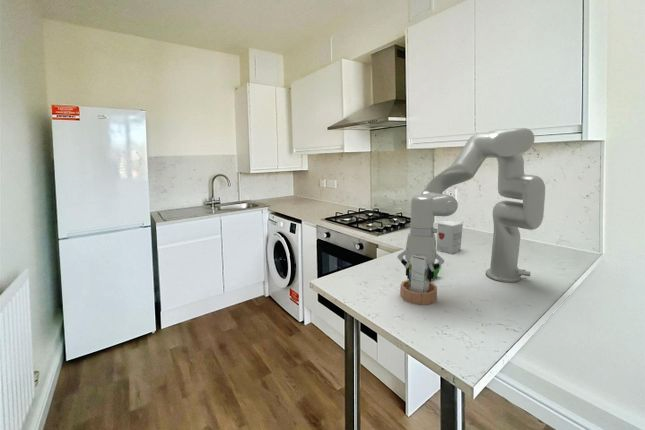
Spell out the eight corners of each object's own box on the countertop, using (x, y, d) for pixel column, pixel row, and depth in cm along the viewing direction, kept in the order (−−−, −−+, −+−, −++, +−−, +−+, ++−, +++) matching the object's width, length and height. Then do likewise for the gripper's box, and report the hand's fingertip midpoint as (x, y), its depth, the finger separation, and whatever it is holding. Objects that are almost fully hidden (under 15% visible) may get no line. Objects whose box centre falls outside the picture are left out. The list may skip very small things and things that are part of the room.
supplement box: (435, 250, 167) (437, 222, 164) (445, 246, 172) (447, 219, 169) (451, 254, 160) (453, 225, 157) (461, 250, 165) (463, 222, 162)
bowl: (437, 292, 118) (438, 282, 118) (434, 307, 107) (435, 296, 107) (403, 286, 123) (404, 277, 123) (397, 300, 112) (398, 290, 111)
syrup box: (414, 286, 119) (415, 249, 116) (429, 290, 115) (431, 252, 112) (407, 291, 115) (409, 253, 112) (423, 296, 111) (425, 256, 108)
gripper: (448, 230, 110) (445, 278, 114) (398, 226, 117) (397, 272, 121) (447, 236, 104) (444, 286, 107) (394, 231, 110) (393, 279, 114)
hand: (419, 278), depth 114 cm, fingers closed on syrup box, 6 cm apart
